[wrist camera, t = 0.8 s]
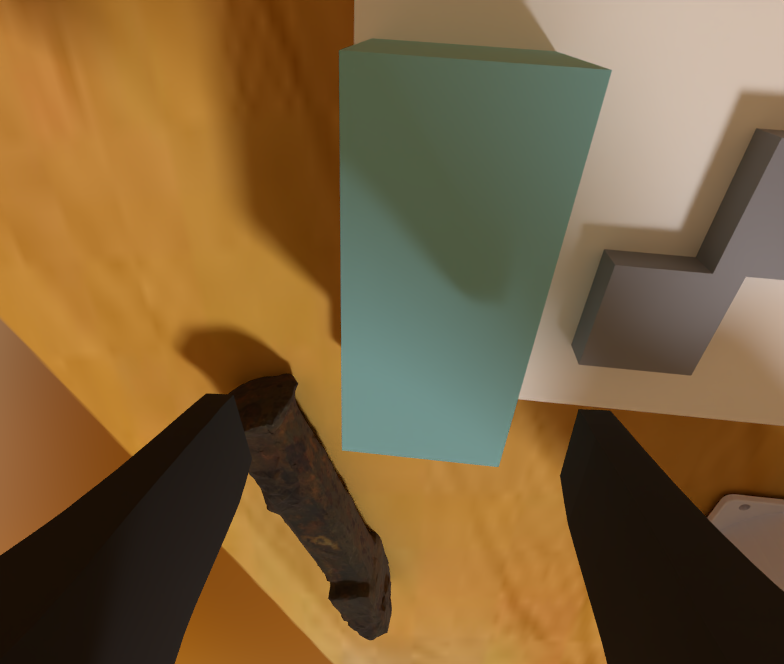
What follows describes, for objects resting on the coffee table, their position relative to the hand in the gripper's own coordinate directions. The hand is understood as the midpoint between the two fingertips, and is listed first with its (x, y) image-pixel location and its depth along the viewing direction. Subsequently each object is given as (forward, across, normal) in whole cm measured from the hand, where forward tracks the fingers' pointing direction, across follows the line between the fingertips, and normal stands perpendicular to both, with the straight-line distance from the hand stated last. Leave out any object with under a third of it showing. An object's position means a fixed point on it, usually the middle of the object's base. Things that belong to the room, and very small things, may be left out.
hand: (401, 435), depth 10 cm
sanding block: (+8, -1, -1) cm, 8 cm away
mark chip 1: (+8, -8, +1) cm, 11 cm away
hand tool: (+10, +4, +15) cm, 19 cm away
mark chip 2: (+8, -11, -2) cm, 14 cm away
